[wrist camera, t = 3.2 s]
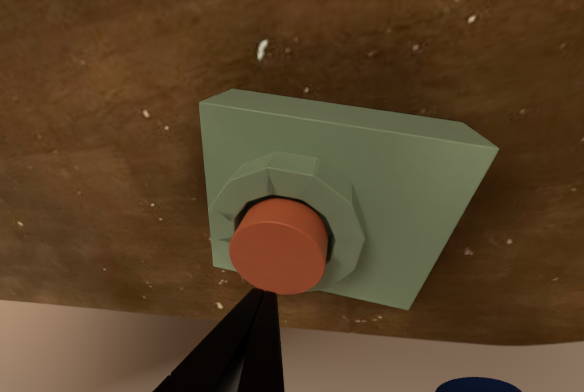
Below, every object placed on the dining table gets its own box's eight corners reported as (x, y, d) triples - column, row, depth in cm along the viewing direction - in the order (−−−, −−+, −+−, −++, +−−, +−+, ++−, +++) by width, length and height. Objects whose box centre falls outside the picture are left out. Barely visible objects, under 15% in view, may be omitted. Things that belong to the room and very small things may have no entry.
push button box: (463, 122, 13) (529, 168, 8) (398, 264, 18) (415, 341, 13) (231, 88, 14) (173, 111, 9) (234, 230, 19) (198, 289, 15)
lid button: (336, 207, 10) (334, 233, 9) (320, 273, 13) (317, 304, 11) (243, 189, 11) (226, 212, 9) (243, 256, 13) (229, 283, 12)
